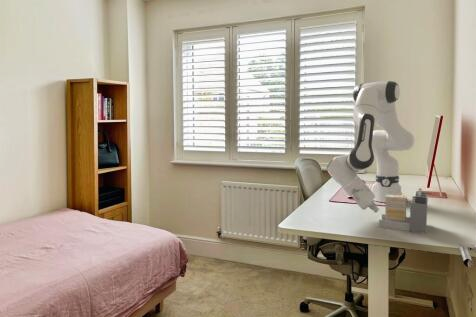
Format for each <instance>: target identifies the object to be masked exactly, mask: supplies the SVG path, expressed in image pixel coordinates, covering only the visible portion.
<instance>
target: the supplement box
mask: <svg viewBox="0 0 476 317" xmlns="http://www.w3.org/2000/svg"><path fill="white" fill-rule="evenodd" d="M407 198H408V197H407V195H403V194H402V195H388V194H387V195H386V203H385V212H384V214H385V220H388V221H397V222H406V216H407Z"/></svg>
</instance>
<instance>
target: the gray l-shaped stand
mask: <svg viewBox="0 0 476 317" xmlns="http://www.w3.org/2000/svg"><path fill="white" fill-rule="evenodd" d="M422 189H423V188H422V187H420V188H418V190H417V191H415V195H412V197H411V200H410V208H409V212H410V214H409V216H407V215H406V222H397V221H388V220H385V213H382V214H381V219H378V227H379V228H383V229H385V228H386V229H391V230H392V229H393V230H402V231H409V233H416V234H417V233H418V234H427V224H428V223H427V221H428V202H429V201H428V197H427V192H426V191H423V190H422Z"/></svg>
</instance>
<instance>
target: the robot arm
mask: <svg viewBox="0 0 476 317" xmlns="http://www.w3.org/2000/svg"><path fill="white" fill-rule="evenodd" d="M400 94H401V93H400V86H399V84H398V82H396V81H391V80H389V81H374V82H367V83H359V84H357V85H355V87H354V88H353V91H352V98H353V101H354V102H355V103H354V106H353V112H352V113H353V115H352V116H353V118H352V120H353V123H354V124H355V125H356V126H357V127H358V130H357V136H356V142H355V146H354V147H353V148H352V149H351V151H350V152H349V153H348V154H344V155H339V156H338V155H337V156H334V157H332V158H331V160H330V162H329V163H328V164H327V166H326V170H327V172H328V174H329V175H330V177H331V178H332V179H333V180H334V182H336V183H337V184H339V185H340V186H341V188H342V190H343V191H344V192H345V193H346V194H347V195H348V196H349V197H352V199H353V200H354V202H355V203H356V204H357V206H359V207H360V209H362V210H363V211H365V210H366V209H367V208H369V209H370V210H372V211H373V213H377V212H379V210H380V207H378V206H377V204H376V203H375V202H377V203H384V204H386V195H387V194H388V195H402V196H403V193H402V186H401V185H400V177H399V166H400V164H399V161H398V159H396V158H395V157H393V156H392V155H391V154H390V152H389V151H396V152H397V151H398V152H401V151H409V150H411V149H412V148H413V146H414V144H415V137H414V135H413V133H412V132H411V131H408V130H407V129H406V128H405V127H403V126H402V124H401V123H400V121H399V119H398V116H397V115H398V114H397V109H396V101H398V99H399V97H400ZM375 125H376V126H377V127H379V128H381V129H375V130H374V128H375ZM374 160H375V161H376V174H375V183H373V184H372V189H371V188H370V187H369V186H368V185H367V184H366V181H365V180H364V179H362V178H360V176H359V175H358V174H359V173H362V172H364V171H365V170H366V169H368V168H369V167H371V166H372V165H373V162H374ZM374 201H375V202H374Z"/></svg>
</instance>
